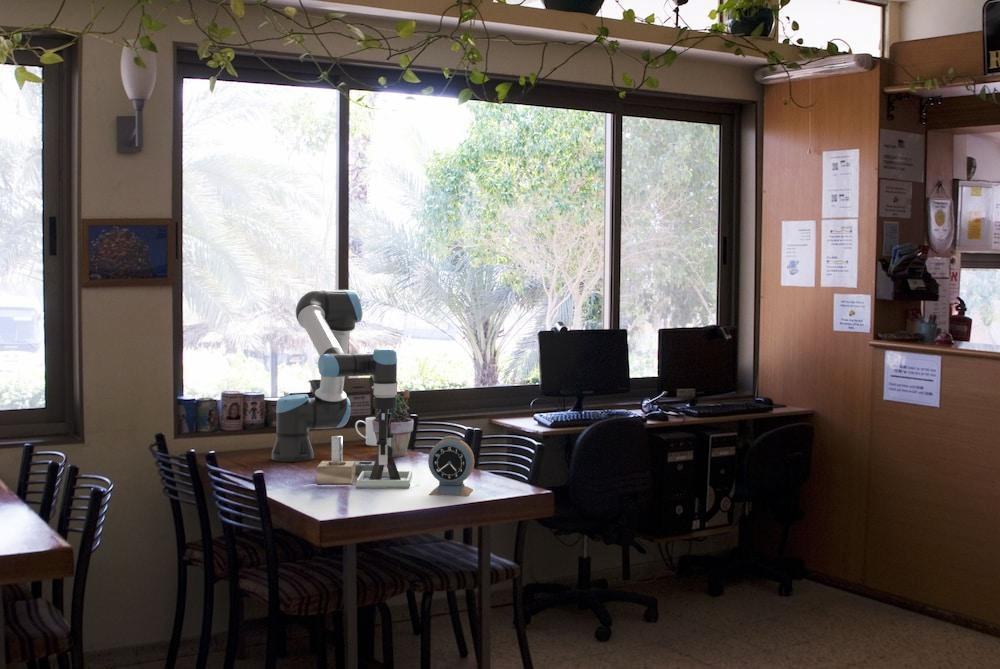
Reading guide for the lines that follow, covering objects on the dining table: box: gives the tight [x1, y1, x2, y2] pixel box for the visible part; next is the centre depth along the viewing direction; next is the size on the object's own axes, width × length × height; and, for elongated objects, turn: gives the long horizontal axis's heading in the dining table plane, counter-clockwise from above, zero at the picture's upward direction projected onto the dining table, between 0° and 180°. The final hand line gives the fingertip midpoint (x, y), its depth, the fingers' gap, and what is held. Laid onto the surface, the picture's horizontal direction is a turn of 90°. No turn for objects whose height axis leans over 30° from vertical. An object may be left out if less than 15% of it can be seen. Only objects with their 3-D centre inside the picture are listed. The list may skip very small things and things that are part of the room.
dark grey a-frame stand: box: [368, 445, 402, 480], centre depth 358 cm, size 9×6×12 cm, turn 114°
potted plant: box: [370, 389, 418, 458], centre depth 415 cm, size 18×20×25 cm
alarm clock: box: [427, 435, 475, 497], centre depth 344 cm, size 14×10×18 cm
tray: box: [356, 470, 413, 489], centre depth 359 cm, size 17×17×2 cm
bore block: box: [316, 460, 356, 486], centre depth 360 cm, size 11×11×6 cm
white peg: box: [330, 435, 344, 465], centre depth 360 cm, size 4×4×15 cm
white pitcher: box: [354, 416, 378, 447], centre depth 440 cm, size 12×8×10 cm, turn 110°
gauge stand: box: [354, 460, 376, 476], centre depth 373 cm, size 8×8×4 cm
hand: (384, 461), depth 358 cm, fingers open, 13 cm apart
